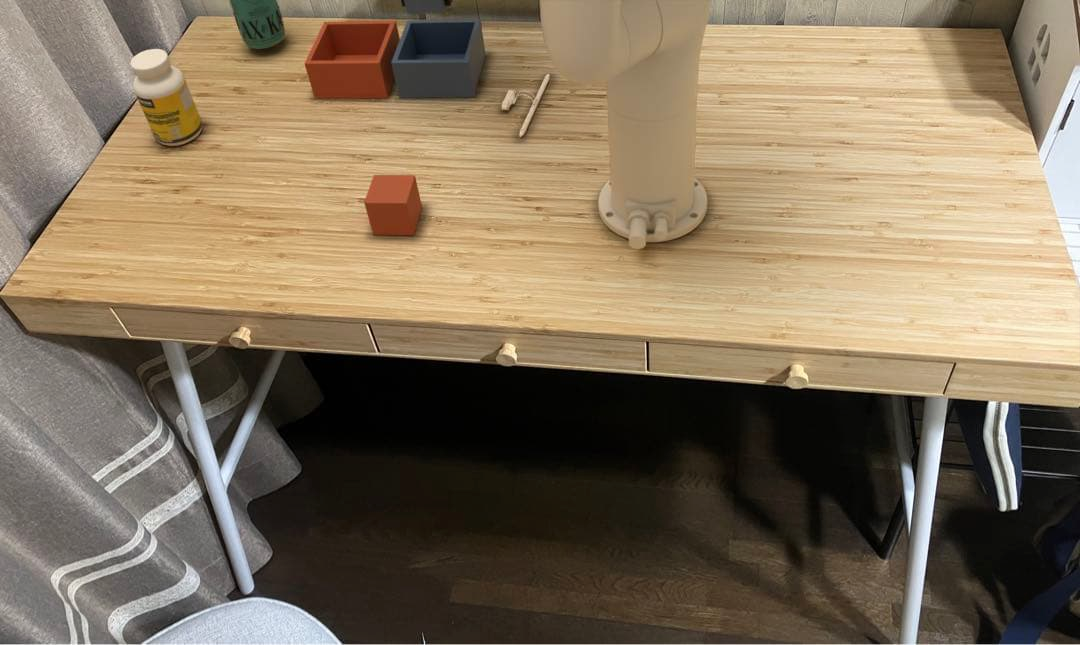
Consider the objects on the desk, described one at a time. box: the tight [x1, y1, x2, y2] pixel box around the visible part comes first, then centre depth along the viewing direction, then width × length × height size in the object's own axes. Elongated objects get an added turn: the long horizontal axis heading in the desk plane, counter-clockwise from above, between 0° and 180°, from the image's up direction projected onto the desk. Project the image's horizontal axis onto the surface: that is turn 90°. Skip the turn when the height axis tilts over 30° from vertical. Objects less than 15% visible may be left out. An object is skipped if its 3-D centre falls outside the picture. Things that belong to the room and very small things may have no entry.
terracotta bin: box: [304, 20, 401, 99], centre depth 140 cm, size 10×10×6 cm
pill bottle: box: [130, 48, 203, 147], centre depth 132 cm, size 6×6×12 cm
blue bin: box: [391, 18, 486, 99], centre depth 138 cm, size 10×10×6 cm
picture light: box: [501, 73, 551, 138], centre depth 133 cm, size 14×4×2 cm, turn 165°
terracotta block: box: [364, 174, 423, 236], centre depth 118 cm, size 5×5×5 cm
